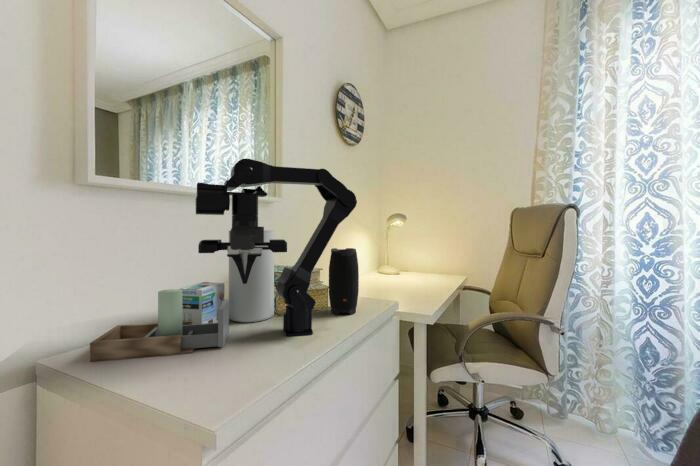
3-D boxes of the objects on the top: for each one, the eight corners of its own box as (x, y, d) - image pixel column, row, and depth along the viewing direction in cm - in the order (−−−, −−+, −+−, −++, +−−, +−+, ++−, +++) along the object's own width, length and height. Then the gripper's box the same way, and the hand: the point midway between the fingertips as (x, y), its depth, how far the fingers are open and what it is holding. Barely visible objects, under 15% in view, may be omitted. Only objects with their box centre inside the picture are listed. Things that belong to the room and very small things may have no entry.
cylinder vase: (231, 325, 83) (231, 230, 82) (226, 314, 94) (226, 230, 93) (278, 319, 88) (279, 230, 88) (268, 309, 99) (268, 230, 99)
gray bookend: (228, 332, 76) (228, 299, 76) (223, 346, 67) (223, 309, 67) (156, 337, 72) (156, 302, 72) (140, 353, 63) (139, 313, 63)
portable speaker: (354, 317, 91) (354, 250, 91) (324, 314, 94) (324, 249, 94) (361, 309, 99) (362, 248, 99) (333, 307, 102) (334, 247, 102)
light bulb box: (201, 333, 76) (201, 289, 76) (176, 332, 77) (176, 288, 77) (225, 321, 87) (225, 282, 87) (203, 319, 88) (203, 281, 88)
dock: (202, 334, 75) (202, 320, 75) (191, 353, 65) (191, 335, 64) (117, 341, 71) (117, 325, 71) (90, 361, 60) (90, 342, 60)
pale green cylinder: (186, 337, 71) (186, 289, 71) (174, 345, 66) (174, 293, 66) (166, 337, 71) (166, 289, 71) (153, 345, 66) (153, 293, 66)
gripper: (192, 213, 62) (192, 292, 62) (288, 215, 66) (288, 288, 67) (203, 215, 73) (203, 282, 73) (285, 216, 77) (285, 280, 77)
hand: (245, 283), depth 72 cm, fingers closed
